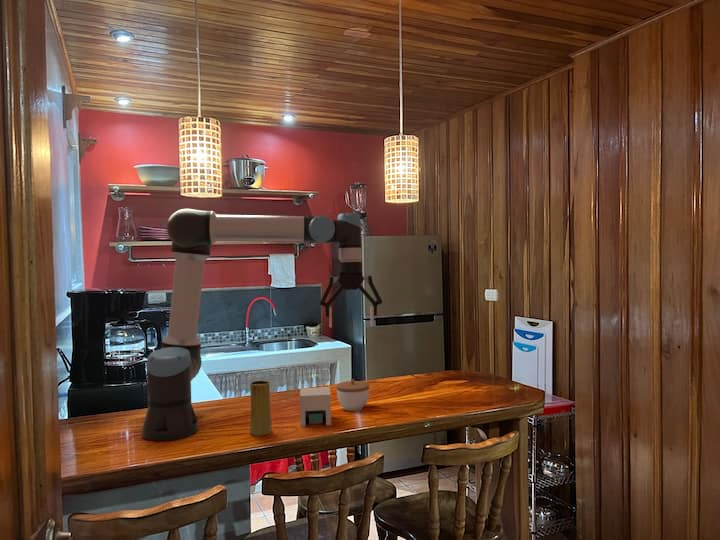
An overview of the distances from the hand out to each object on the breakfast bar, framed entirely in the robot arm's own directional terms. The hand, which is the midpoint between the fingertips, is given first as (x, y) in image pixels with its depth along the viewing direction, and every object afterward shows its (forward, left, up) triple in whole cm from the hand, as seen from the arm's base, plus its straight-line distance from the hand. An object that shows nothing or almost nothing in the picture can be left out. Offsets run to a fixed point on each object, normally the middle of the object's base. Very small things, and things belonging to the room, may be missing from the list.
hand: (351, 326), depth 168 cm
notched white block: (+1, -17, -27) cm, 32 cm away
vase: (-3, -34, -27) cm, 43 cm away
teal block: (+1, -17, -27) cm, 32 cm away
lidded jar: (0, 0, -27) cm, 27 cm away
